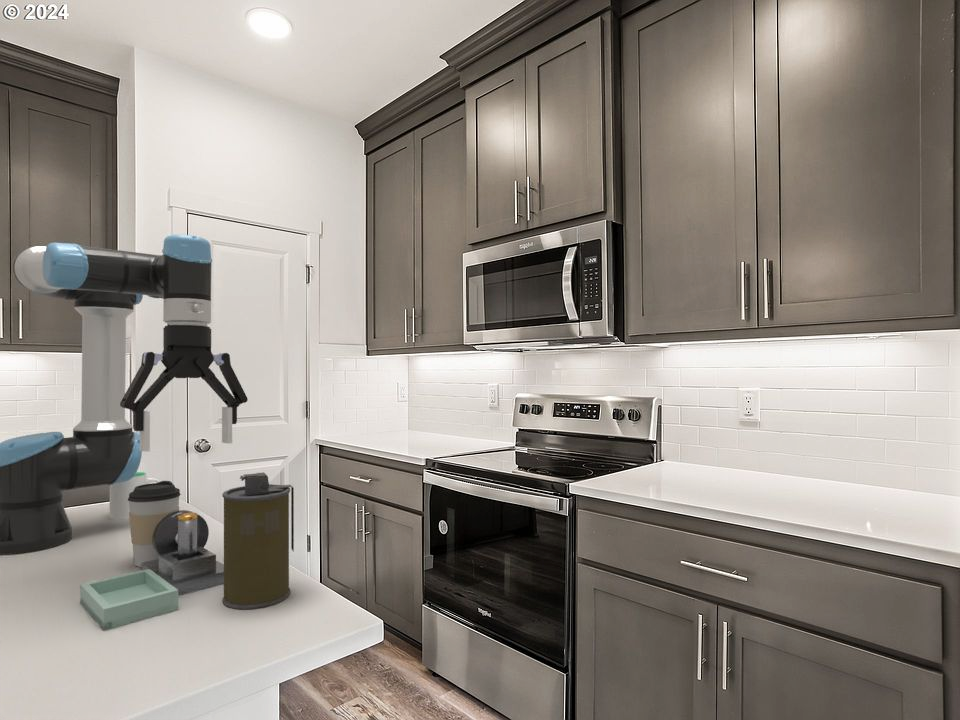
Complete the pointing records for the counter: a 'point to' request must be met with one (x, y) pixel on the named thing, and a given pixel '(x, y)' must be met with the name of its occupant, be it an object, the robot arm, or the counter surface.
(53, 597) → the counter surface
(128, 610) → the tray
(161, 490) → the coffee cup
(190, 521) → the lock pin
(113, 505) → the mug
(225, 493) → the canister
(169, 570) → the tensioner
